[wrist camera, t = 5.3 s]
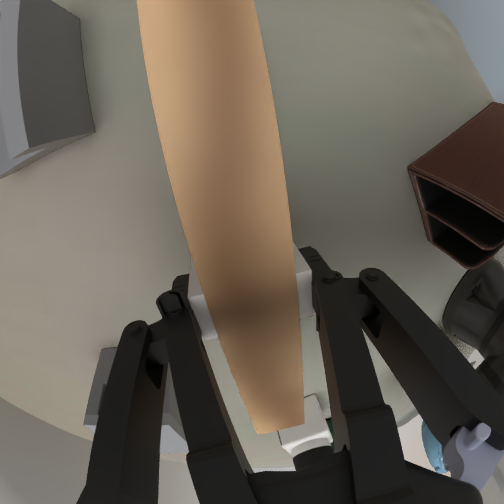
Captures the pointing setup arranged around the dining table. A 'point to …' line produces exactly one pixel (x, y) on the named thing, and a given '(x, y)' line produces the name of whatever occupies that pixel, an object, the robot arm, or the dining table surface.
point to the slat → (230, 190)
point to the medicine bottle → (308, 436)
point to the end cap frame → (55, 134)
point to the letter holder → (465, 189)
